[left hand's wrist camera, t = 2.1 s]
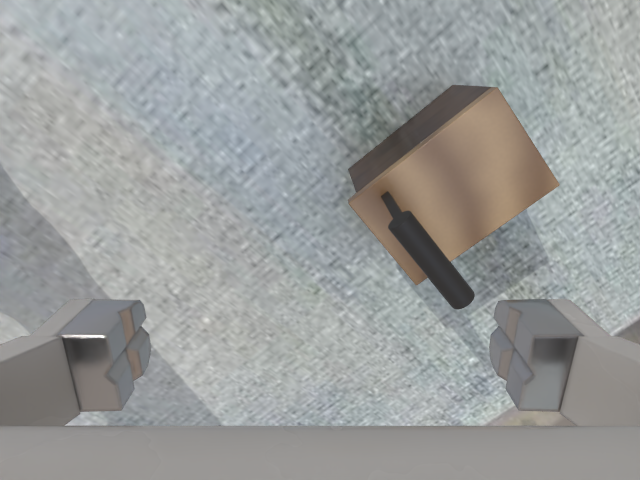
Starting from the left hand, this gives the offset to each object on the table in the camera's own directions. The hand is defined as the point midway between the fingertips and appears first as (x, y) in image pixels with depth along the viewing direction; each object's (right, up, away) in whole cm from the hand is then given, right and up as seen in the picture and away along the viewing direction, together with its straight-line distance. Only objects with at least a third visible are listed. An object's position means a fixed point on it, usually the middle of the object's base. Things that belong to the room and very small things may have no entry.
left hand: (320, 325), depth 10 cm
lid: (+10, +6, +25) cm, 28 cm away
